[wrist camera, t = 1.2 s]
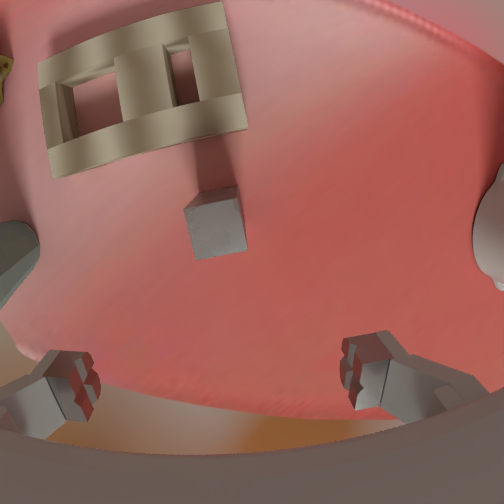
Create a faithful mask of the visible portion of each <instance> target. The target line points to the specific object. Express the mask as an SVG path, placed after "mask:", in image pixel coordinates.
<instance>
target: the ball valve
mask: <svg viewBox="0 0 504 504" xmlns="http://www.w3.org/2000/svg"><path fill="white" fill-rule="evenodd" d="M13 61H14V60H13V59H10V58H8V57H5V56H2V55H0V105H1V103H2V102H3V95H2V81H3V80H4V79H5V77H6V76H7V75H8V74H9V72H10V71H11V69H12V65H13ZM5 63H6V67H4V64H5Z"/></svg>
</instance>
